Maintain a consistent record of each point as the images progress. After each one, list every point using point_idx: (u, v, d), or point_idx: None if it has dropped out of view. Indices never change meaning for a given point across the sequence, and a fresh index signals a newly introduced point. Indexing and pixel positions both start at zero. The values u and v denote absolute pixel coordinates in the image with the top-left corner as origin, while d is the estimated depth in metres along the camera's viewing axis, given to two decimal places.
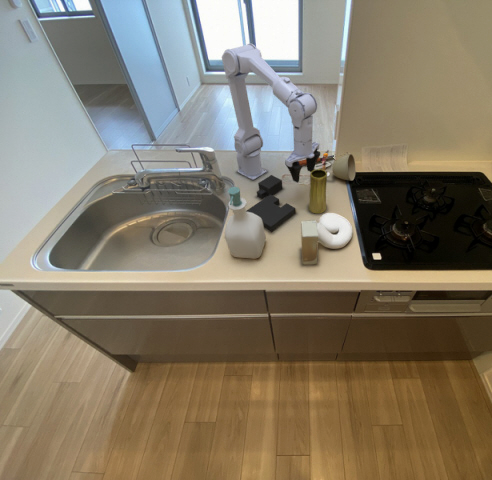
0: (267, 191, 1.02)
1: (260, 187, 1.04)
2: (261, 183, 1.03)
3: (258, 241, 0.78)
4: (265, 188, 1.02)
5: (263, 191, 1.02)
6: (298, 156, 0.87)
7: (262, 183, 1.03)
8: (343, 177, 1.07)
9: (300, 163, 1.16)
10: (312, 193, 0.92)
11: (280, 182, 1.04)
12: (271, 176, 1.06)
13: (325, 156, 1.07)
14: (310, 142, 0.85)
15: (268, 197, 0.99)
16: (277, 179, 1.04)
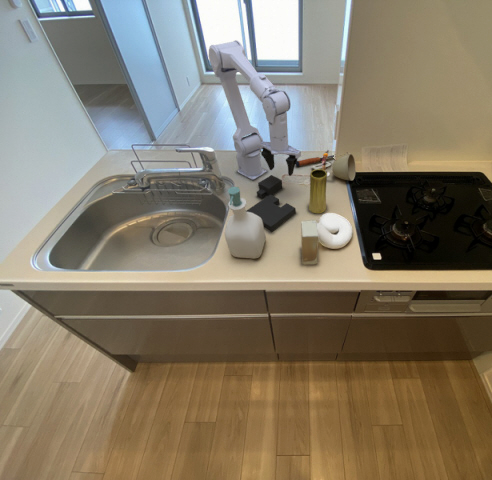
0: (267, 191, 1.02)
1: (260, 187, 1.04)
2: (261, 183, 1.03)
3: (258, 241, 0.78)
4: (265, 188, 1.02)
5: (263, 191, 1.02)
6: (270, 146, 0.92)
7: (262, 183, 1.03)
8: (343, 177, 1.07)
9: (300, 163, 1.16)
10: (312, 193, 0.92)
11: (280, 182, 1.04)
12: (271, 176, 1.06)
13: (325, 156, 1.07)
14: (274, 139, 0.87)
15: (268, 197, 0.99)
16: (277, 179, 1.04)
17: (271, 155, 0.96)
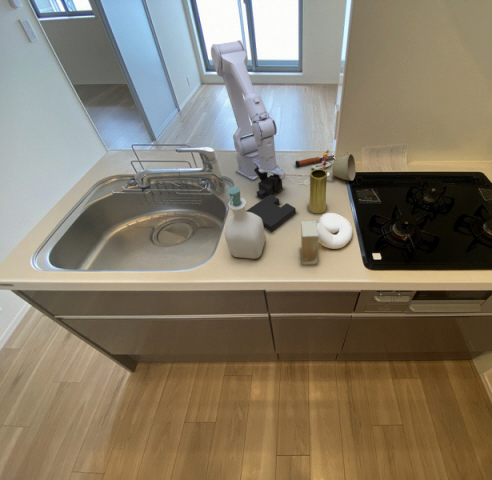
0: (267, 191, 1.02)
1: (260, 187, 1.04)
2: (261, 183, 1.03)
3: (258, 241, 0.78)
4: (265, 188, 1.02)
5: (263, 191, 1.02)
6: None
7: (262, 183, 1.03)
8: (343, 177, 1.07)
9: (300, 163, 1.16)
10: (312, 193, 0.92)
11: None
12: None
13: (325, 156, 1.07)
14: (261, 159, 0.94)
15: (268, 197, 0.99)
16: None
17: (264, 172, 1.03)
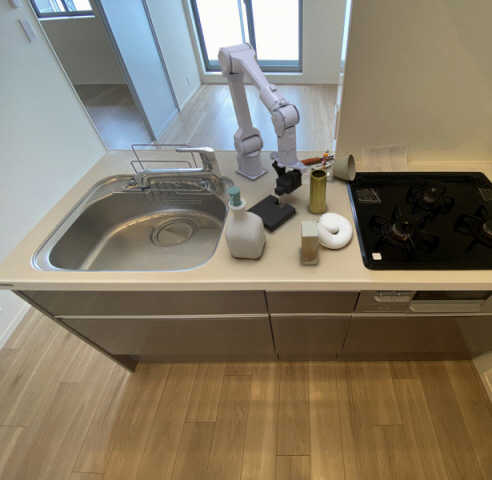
0: (286, 188, 0.93)
1: (278, 183, 0.95)
2: (279, 179, 0.94)
3: (258, 241, 0.78)
4: (284, 184, 0.93)
5: (281, 188, 0.93)
6: None
7: (280, 179, 0.94)
8: (343, 177, 1.07)
9: None
10: (312, 193, 0.92)
11: (300, 178, 0.95)
12: (289, 171, 0.97)
13: (325, 156, 1.07)
14: (281, 152, 0.85)
15: (268, 197, 0.99)
16: None
17: (282, 167, 0.94)
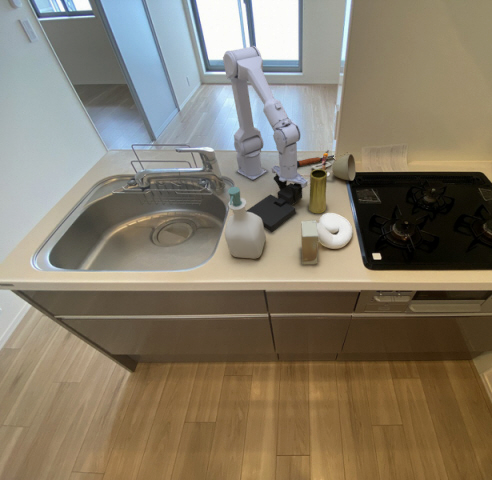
0: (287, 200, 0.97)
1: (279, 196, 0.98)
2: (280, 192, 0.98)
3: (258, 241, 0.78)
4: (285, 197, 0.97)
5: (283, 200, 0.97)
6: None
7: (281, 192, 0.98)
8: (343, 177, 1.07)
9: (300, 163, 1.16)
10: (312, 193, 0.92)
11: None
12: (290, 184, 1.01)
13: (325, 156, 1.07)
14: (283, 167, 0.89)
15: (268, 197, 0.99)
16: None
17: (283, 180, 0.98)
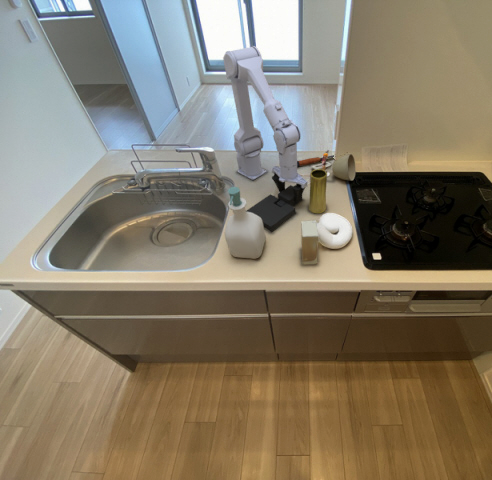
0: (287, 202, 0.97)
1: (279, 198, 0.99)
2: (281, 194, 0.98)
3: (258, 241, 0.78)
4: (285, 199, 0.97)
5: (283, 202, 0.98)
6: None
7: (282, 194, 0.98)
8: (343, 177, 1.07)
9: (300, 163, 1.16)
10: (312, 193, 0.92)
11: None
12: (290, 186, 1.01)
13: (325, 156, 1.07)
14: (283, 168, 0.89)
15: (268, 197, 0.99)
16: None
17: None
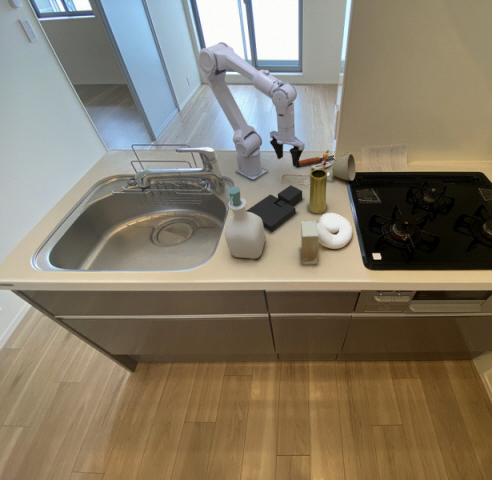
0: (287, 202, 0.97)
1: (279, 198, 0.99)
2: (281, 194, 0.98)
3: (258, 241, 0.78)
4: (285, 199, 0.97)
5: (283, 202, 0.98)
6: None
7: (282, 194, 0.98)
8: (343, 177, 1.07)
9: (300, 163, 1.16)
10: (312, 193, 0.92)
11: (300, 193, 1.00)
12: (290, 186, 1.01)
13: (325, 156, 1.07)
14: (280, 129, 0.92)
15: (268, 197, 0.99)
16: (297, 190, 1.00)
17: (280, 145, 1.01)
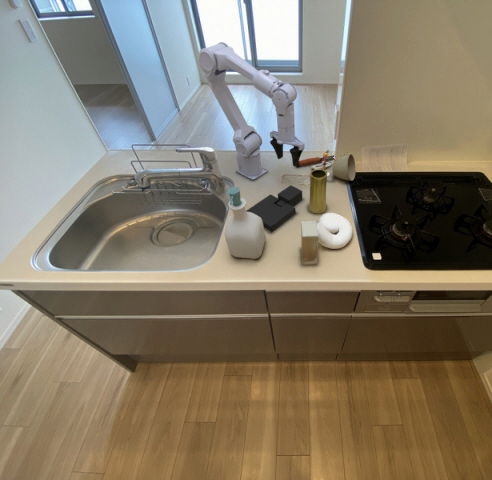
0: (287, 202, 0.97)
1: (279, 198, 0.99)
2: (281, 194, 0.98)
3: (258, 241, 0.78)
4: (285, 199, 0.97)
5: (283, 202, 0.98)
6: None
7: (282, 194, 0.98)
8: (343, 177, 1.07)
9: (300, 163, 1.16)
10: (312, 193, 0.92)
11: (300, 193, 1.00)
12: (290, 186, 1.01)
13: (325, 156, 1.07)
14: (280, 129, 0.92)
15: (268, 197, 0.99)
16: (297, 190, 1.00)
17: (280, 145, 1.01)
